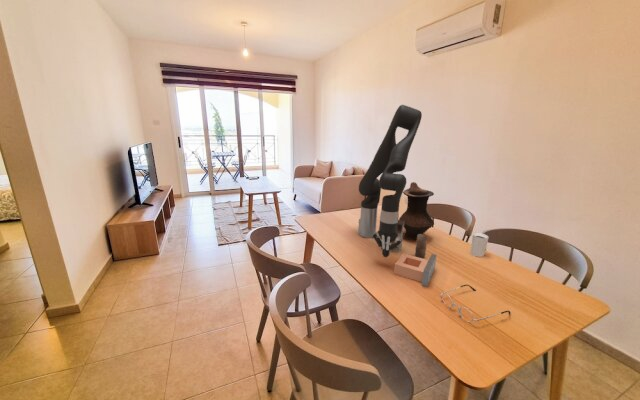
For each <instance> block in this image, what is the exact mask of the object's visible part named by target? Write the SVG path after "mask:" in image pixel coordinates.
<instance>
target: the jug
mask: <svg viewBox="0 0 640 400" xmlns="http://www.w3.org/2000/svg"><path fill="white" fill-rule="evenodd" d="M402 194H403V195H405V196H406V197H407V207H406V210H405V211H404V212H403V213H402V214H401V215H400V217H399V218H398V220H401V221H405V222H404V231H405V232H403V237H404V238H406V239H408V240H409V241H417V235H418V234H424V233H425V232H427V231H428V230H429V229H430V228H432V227H433V226H434V225H435V222H434V220H433V218H432V217H431V215H430V214H429V213H428V210H427V207H428V201H429V199H430V197H432V196H434V195H435V194H434V192H433V191H430V190H428V189H424V188H421V187H420V186H418V184H417V183H416V181H415V182H414V181H413V182H411V183H410V185H409V187H408V188H406V189H404V190H403V192H402ZM424 235H425V234H424Z"/></svg>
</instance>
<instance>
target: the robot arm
mask: <svg viewBox="0 0 640 400" xmlns="http://www.w3.org/2000/svg"><path fill="white" fill-rule="evenodd" d="M422 113H423V112H422V111H421V110H420V109H416V108H414V107H411V106H409V105H405V104H401V105H399V106H398V107H397V109H396V111H395V112H394V114H393V117H392V120H391V122H390V125H389V126H388V129H387V131H386V134H385V135H384V138H383V140H381V144H380V145H379V147H378V149H377V150H376V153H375V155H374V156H373V159H372V161H371V163H370V165H369V167H368V169H367V170H366V171H365V174H364V175H363V176H362V178H361V179H360V181H359V185H358V193H359V194H360V195H361V196H364V197H365V196H366V197H365V198H364V199H363V200H361V202H360V215H359V216H360V218H359V219H358V227H357V228H358V229H357V231H358V232H357V233H358V234H357V235H358V236H360V237H363V238H367V239H370V238H372V239H373V240H374V241H375V242H376V244H377V245H378V247H379V248H383V249H381V250H382V251H381V252H382V254H381V255H382V256H383V257H384V258H388V257H389V256H390V252H391V251H390V250H393V249H394V248H395V247H396V246H398V245H399V244H400V243H401V242H402V243H403V239H399V238H398V235H397V227H398V220H399V218H400V217H399V215H400V213H399V212H400V211H399V210H400V203H401V197H402V195H403V191H405V188H406V185H407V178H406V176H405V175H404V174H400V173H398V172H402V171H404V170H405V169H406V166H407V161H408V157H409V153H410V149H411V147H412V144H413V142H414V139H415V137H416V135H417V131H418V129H419V126H420V124H421V121H422ZM397 128H401V129H404V130H407V134H406V135H405V136H404V137H403V138H402V139H401V140H399V142H396V133H397V132H396V131H397V130H398V129H397ZM379 177H380V178H379ZM378 178H379V179H378ZM382 190H385V191H390V192H391V191H392V192H395V193H393V194H387V195H384V196H382V200H381V211H380V214H379V215H380V216H379V227H378V231H377V220H378V219H377V218H378V206H379V203H380V199H381V191H382ZM395 239H396V241H395V242H396V243H395V244H394V245H392V246H391V243H392V242H393V241H394V240H395Z"/></svg>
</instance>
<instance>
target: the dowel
mask: <svg viewBox="0 0 640 400" xmlns="http://www.w3.org/2000/svg"><path fill="white" fill-rule="evenodd" d="M427 242H428V235H427V234H418V235H417V240H416V244H415V252H414V256H415V257H419V258H423V259H426V251H427V244H428V243H427Z"/></svg>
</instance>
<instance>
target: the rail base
mask: <svg viewBox="0 0 640 400" xmlns="http://www.w3.org/2000/svg"><path fill="white" fill-rule="evenodd" d="M427 260H428V262H427V264H426V267H425V269H424V272H423V280H422V282H421V286H422V287H426V288H428V286H429V284H430V281H431V280H432V279H431V278H432V276H433V274H434V272H435V269H436V262H437V254H434V253H431V255H430V257H429V259H427Z"/></svg>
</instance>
